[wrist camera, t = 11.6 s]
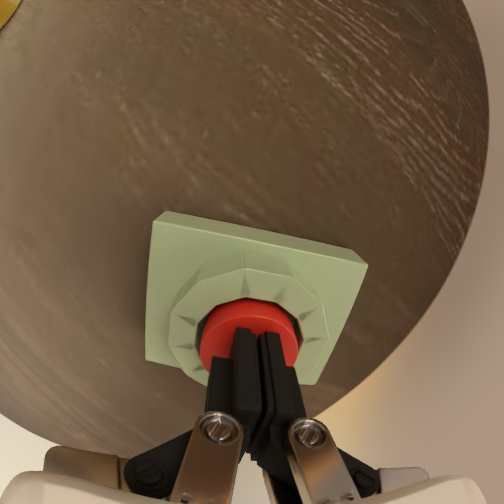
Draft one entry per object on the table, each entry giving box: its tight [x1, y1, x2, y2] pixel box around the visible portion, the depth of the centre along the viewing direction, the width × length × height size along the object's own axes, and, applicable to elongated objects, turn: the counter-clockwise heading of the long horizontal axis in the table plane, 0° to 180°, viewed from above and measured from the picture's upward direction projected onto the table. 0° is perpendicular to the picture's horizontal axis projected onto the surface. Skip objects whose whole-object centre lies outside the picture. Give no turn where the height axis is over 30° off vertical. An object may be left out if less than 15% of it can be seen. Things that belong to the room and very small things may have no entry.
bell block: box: [145, 211, 368, 387], centre depth 13 cm, size 10×8×4 cm
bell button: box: [200, 297, 298, 373], centre depth 11 cm, size 4×4×2 cm
